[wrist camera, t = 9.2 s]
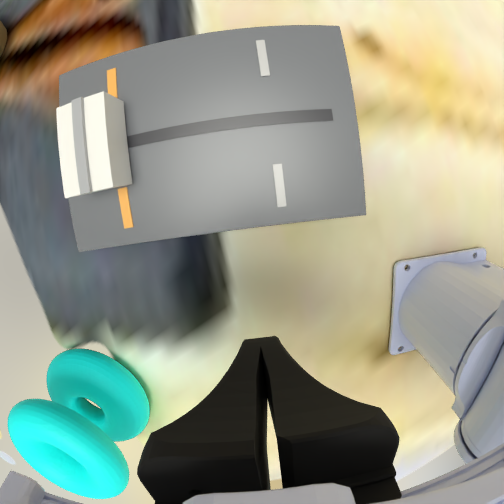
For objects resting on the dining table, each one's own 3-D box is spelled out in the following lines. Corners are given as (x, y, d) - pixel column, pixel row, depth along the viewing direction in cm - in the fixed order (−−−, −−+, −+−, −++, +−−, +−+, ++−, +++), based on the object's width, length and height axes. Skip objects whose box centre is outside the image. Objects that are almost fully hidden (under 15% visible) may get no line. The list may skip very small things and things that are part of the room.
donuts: (143, 514, 15) (41, 488, 15) (165, 429, 25) (78, 420, 25) (86, 432, 13) (-20, 403, 13) (136, 342, 22) (41, 340, 22)
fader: (123, 101, 15) (101, 89, 12) (132, 184, 16) (110, 187, 13) (80, 114, 15) (53, 107, 12) (88, 193, 16) (62, 198, 14)
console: (329, 40, 17) (339, 25, 14) (352, 209, 20) (366, 215, 17) (76, 83, 17) (58, 75, 15) (95, 243, 20) (78, 252, 18)
